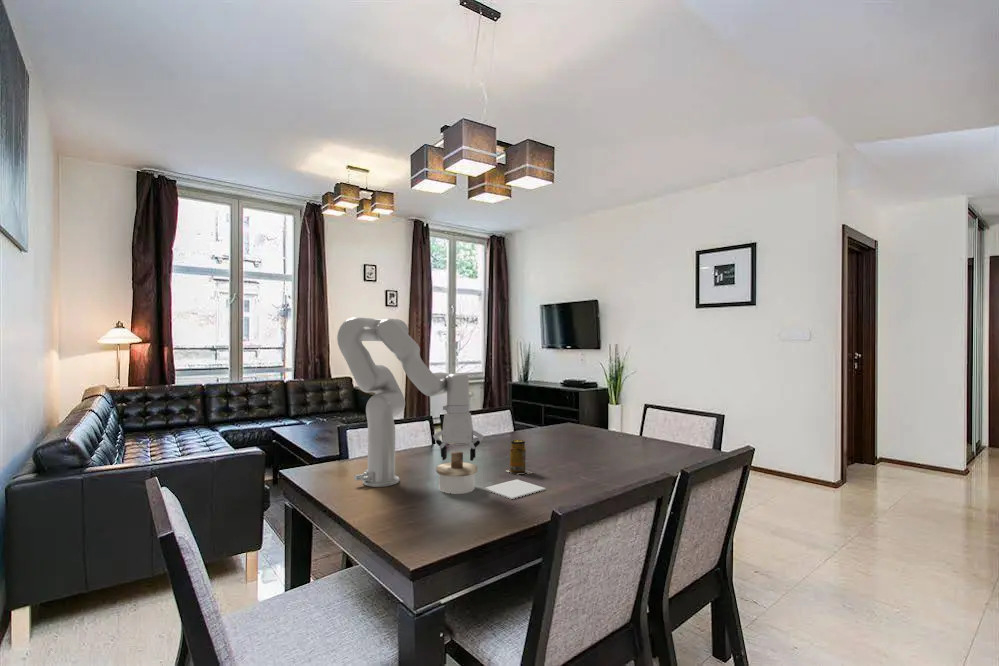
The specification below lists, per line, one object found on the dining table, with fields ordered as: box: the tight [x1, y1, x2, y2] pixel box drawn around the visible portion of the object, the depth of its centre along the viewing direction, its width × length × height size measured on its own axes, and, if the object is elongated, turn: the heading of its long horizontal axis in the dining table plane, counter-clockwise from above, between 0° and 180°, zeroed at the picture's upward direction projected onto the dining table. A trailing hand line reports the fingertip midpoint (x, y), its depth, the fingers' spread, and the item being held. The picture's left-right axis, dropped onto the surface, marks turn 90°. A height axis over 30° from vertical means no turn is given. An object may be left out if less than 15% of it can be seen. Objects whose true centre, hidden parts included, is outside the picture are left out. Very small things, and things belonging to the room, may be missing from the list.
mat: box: [482, 479, 547, 500], centre depth 171 cm, size 16×14×1 cm
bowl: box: [438, 473, 476, 495], centre depth 172 cm, size 12×12×6 cm
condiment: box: [505, 439, 534, 476], centre depth 194 cm, size 7×8×12 cm
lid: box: [435, 451, 478, 477], centre depth 172 cm, size 14×14×6 cm
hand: (458, 459), depth 172 cm, fingers open, 9 cm apart
